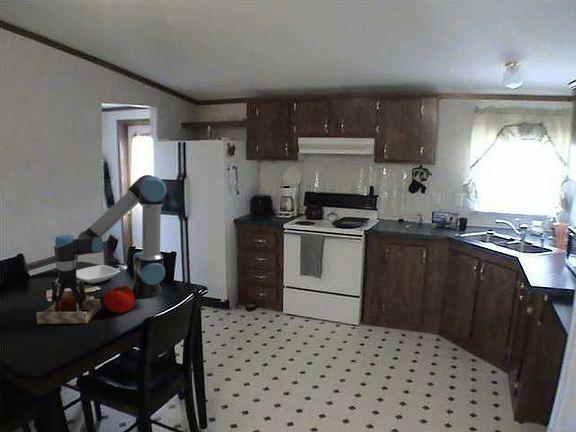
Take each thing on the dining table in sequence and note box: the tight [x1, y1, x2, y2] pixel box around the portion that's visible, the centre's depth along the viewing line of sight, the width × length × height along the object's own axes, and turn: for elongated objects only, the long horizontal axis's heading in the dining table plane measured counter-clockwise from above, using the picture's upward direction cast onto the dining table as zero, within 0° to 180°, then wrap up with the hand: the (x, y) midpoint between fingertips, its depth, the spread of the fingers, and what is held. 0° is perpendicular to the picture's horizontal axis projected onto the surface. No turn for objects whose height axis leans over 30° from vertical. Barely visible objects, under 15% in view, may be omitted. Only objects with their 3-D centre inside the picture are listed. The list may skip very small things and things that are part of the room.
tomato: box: [103, 285, 136, 314], centre depth 196 cm, size 13×14×12 cm
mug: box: [58, 290, 80, 312], centre depth 189 cm, size 12×9×10 cm
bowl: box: [76, 264, 121, 285], centre depth 237 cm, size 22×23×6 cm
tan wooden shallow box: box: [35, 298, 102, 324], centre depth 189 cm, size 21×16×5 cm
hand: (70, 315), depth 190 cm, fingers closed on mug, 7 cm apart
